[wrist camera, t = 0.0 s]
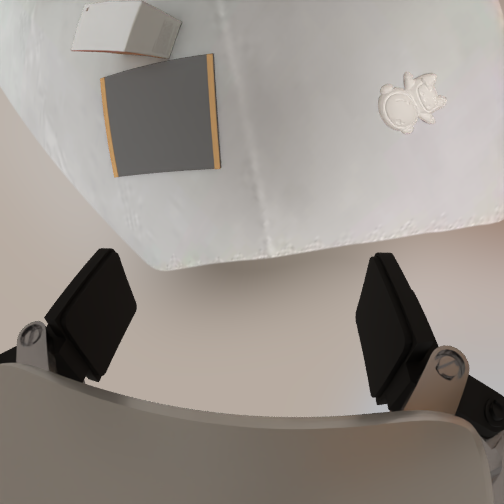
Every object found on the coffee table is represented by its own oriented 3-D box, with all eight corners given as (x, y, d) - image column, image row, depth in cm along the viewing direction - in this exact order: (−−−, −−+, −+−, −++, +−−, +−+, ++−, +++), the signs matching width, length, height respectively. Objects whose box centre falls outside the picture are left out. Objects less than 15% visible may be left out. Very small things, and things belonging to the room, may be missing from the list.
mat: (102, 78, 31) (100, 78, 31) (213, 54, 30) (212, 53, 29) (116, 176, 41) (114, 177, 40) (221, 167, 39) (220, 168, 38)
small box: (123, 54, 29) (68, 51, 19) (135, 18, 26) (83, 2, 15) (170, 60, 30) (124, 52, 19) (183, 21, 27) (142, -2, 16)
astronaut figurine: (448, 116, 30) (459, 119, 28) (389, 139, 34) (397, 144, 32) (429, 64, 26) (439, 63, 24) (365, 85, 30) (372, 85, 28)
